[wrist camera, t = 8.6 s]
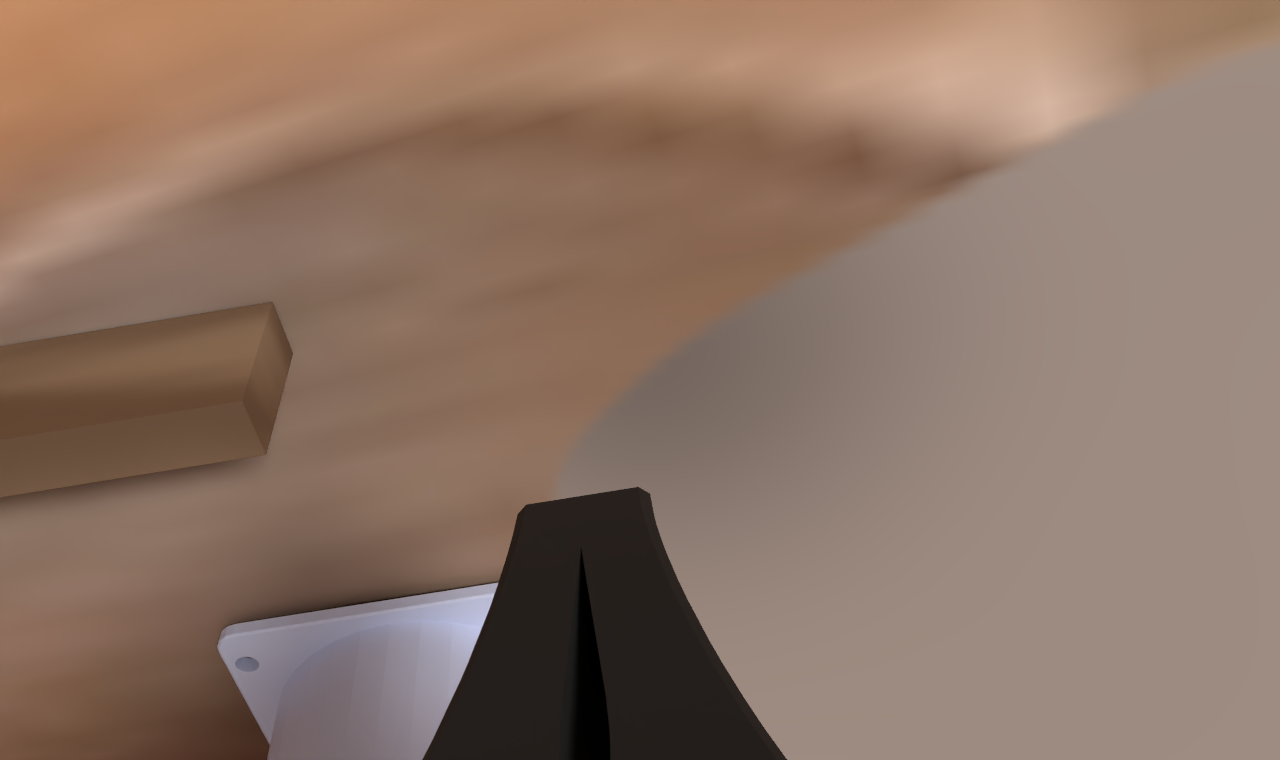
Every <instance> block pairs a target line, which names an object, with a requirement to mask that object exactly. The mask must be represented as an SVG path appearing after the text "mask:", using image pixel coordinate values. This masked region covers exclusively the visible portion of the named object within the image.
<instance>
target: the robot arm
mask: <svg viewBox="0 0 1280 760" xmlns="http://www.w3.org/2000/svg"><path fill="white" fill-rule="evenodd" d="M217 648H218V652H219V654H220V656H221V657H222V659H223V661H224V663H225V665H226V666H227V668H228V670H229V672H230V674H231V676H232V677H233V679H234V681H235V683H236V685H237V686H238V688H239V690H240V692H241V694H242V696H243V697H244V699H245V701H246V703H247V705H248V706H249V708H250V710H251V712H252V714H253V716H254V717H255V719H256V721H257V723H258V725H259V726H260V728H261V730H262V732H263V734H264V736H265V737H266V739H267V741H268V743H269V745H270V747H269V752H268V757H267V760H787V759H786V758H785V756H784V755H783V754H782V752H781V751H780V749H779V748H778V747H777V745H776V744H775V743H774V741H773V740H772V738H771V737H770V736H769V734H768V733H767V731H766V730H765V729H764V727H763V726H762V724H761V723H760V721H759V720H758V718H757V717H756V715H755V714H754V712H753V711H752V709H751V708H750V706H749V705H748V703H747V702H746V700H745V699H744V697H743V696H742V694H741V692H740V691H739V689H738V688H737V686H736V684H735V683H734V681H733V680H732V678H731V676H730V675H729V673H728V672H727V670H726V669H725V667H724V665H723V663H722V662H721V660H720V658H719V657H718V655H717V653H716V651H715V650H714V648H713V646H712V645H711V643H710V641H709V639H708V637H707V635H706V634H705V632H704V630H703V628H702V626H701V624H700V622H699V620H698V619H697V617H696V615H695V613H694V611H693V609H692V607H691V606H690V603H689V602H688V600H687V598H686V596H685V594H684V592H683V590H682V587H681V585H680V583H679V581H678V579H677V577H676V574H675V572H674V570H673V568H672V565H671V563H670V560H669V558H668V556H667V553H666V551H665V548H664V545H663V543H662V540H661V537H660V534H659V531H658V528H657V525H656V521H655V518H654V513H653V507H652V502H651V497H650V494H649V493H648V492H646V491H644V490H643V489H641V488H639V487H636V488H629V489H624V490H617V491H611V492H604V493H598V494H592V495H585V496H579V497H572V498H566V499H560V500H554V501H547V502H541V503H535V504H528V505H526V506H525V507H524V508H523V509H522V510H521V511H520V512H519V513H518V515H517V520H516V524H515V529H514V533H513V537H512V540H511V544H510V547H509V551H508V554H507V558H506V561H505V564H504V567H503V571H502V574H501V577H500V580H499V583H493V584H486V585H480V586H473V587H467V588H461V589H454V590H448V591H442V592H435V593H429V594H423V595H416V596H410V597H403V598H397V599H391V600H384V601H378V602H372V603H365V604H359V605H353V606H346V607H340V608H333V609H327V610H321V611H314V612H308V613H302V614H295V615H289V616H283V617H276V618H270V619H263V620H257V621H251V622H244V623H238V624H233V625H230V626H227V627H226V628H225V629H223V630H222V632H221V635H220V638H219V641H218V645H217ZM246 657H251V658H246Z"/></svg>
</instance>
